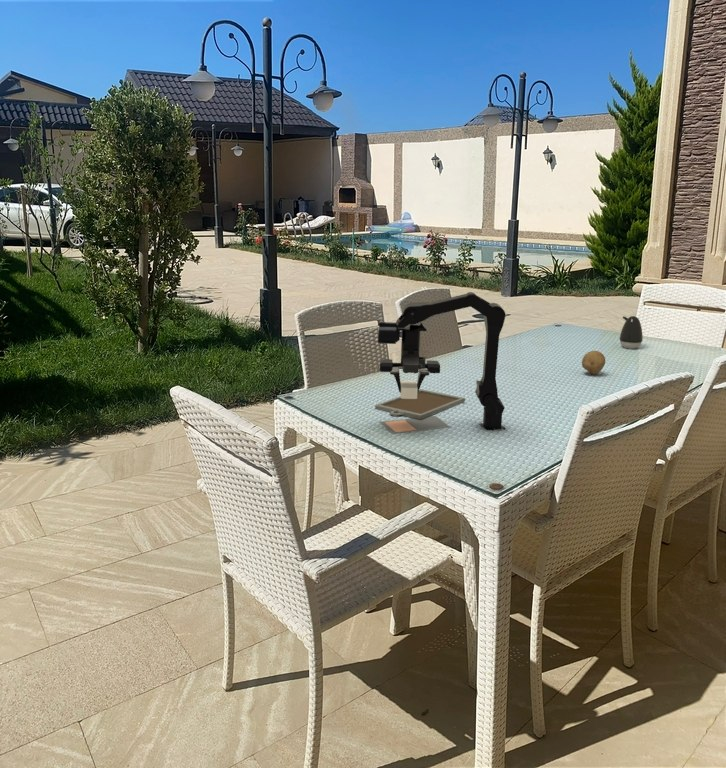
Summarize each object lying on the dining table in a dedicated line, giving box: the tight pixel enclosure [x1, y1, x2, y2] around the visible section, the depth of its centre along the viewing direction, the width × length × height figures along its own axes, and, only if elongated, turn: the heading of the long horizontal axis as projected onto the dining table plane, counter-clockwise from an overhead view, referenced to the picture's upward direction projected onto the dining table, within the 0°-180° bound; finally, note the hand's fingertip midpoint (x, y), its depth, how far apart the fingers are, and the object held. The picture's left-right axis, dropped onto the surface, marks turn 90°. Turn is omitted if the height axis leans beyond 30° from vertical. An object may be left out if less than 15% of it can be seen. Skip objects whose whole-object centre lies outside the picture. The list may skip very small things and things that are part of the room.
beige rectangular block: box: [400, 380, 418, 399], centre depth 230 cm, size 5×8×4 cm, turn 179°
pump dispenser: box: [619, 315, 644, 350], centre depth 342 cm, size 10×10×15 cm
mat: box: [379, 415, 452, 435], centre depth 233 cm, size 12×20×1 cm, turn 109°
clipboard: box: [374, 388, 466, 420], centre depth 252 cm, size 19×2×30 cm
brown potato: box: [581, 350, 606, 375], centre depth 295 cm, size 9×9×10 cm
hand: (408, 392), depth 230 cm, fingers closed on beige rectangular block, 5 cm apart
